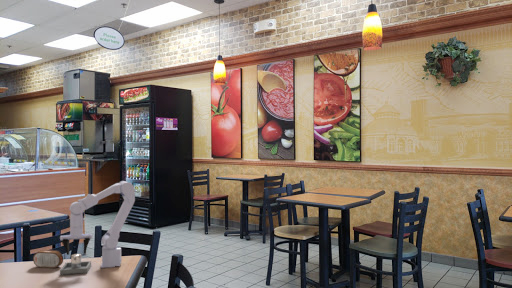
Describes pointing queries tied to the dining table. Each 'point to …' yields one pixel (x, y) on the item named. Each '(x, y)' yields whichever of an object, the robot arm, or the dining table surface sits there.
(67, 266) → the parts tray
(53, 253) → the tin
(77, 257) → the handled mug
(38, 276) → the dining table surface
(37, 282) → the dining table surface
